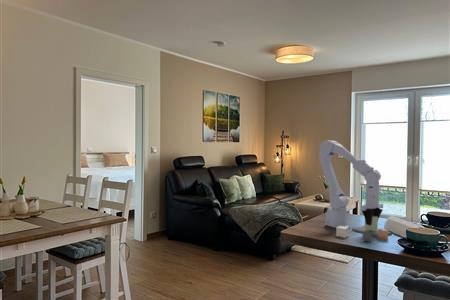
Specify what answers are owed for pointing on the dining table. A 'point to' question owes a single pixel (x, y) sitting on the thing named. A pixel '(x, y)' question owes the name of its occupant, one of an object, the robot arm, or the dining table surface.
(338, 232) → the off-white cube
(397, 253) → the dining table surface
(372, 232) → the slate board
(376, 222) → the sage block
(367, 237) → the rubber ball
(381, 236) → the tan sphere
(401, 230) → the crystal
